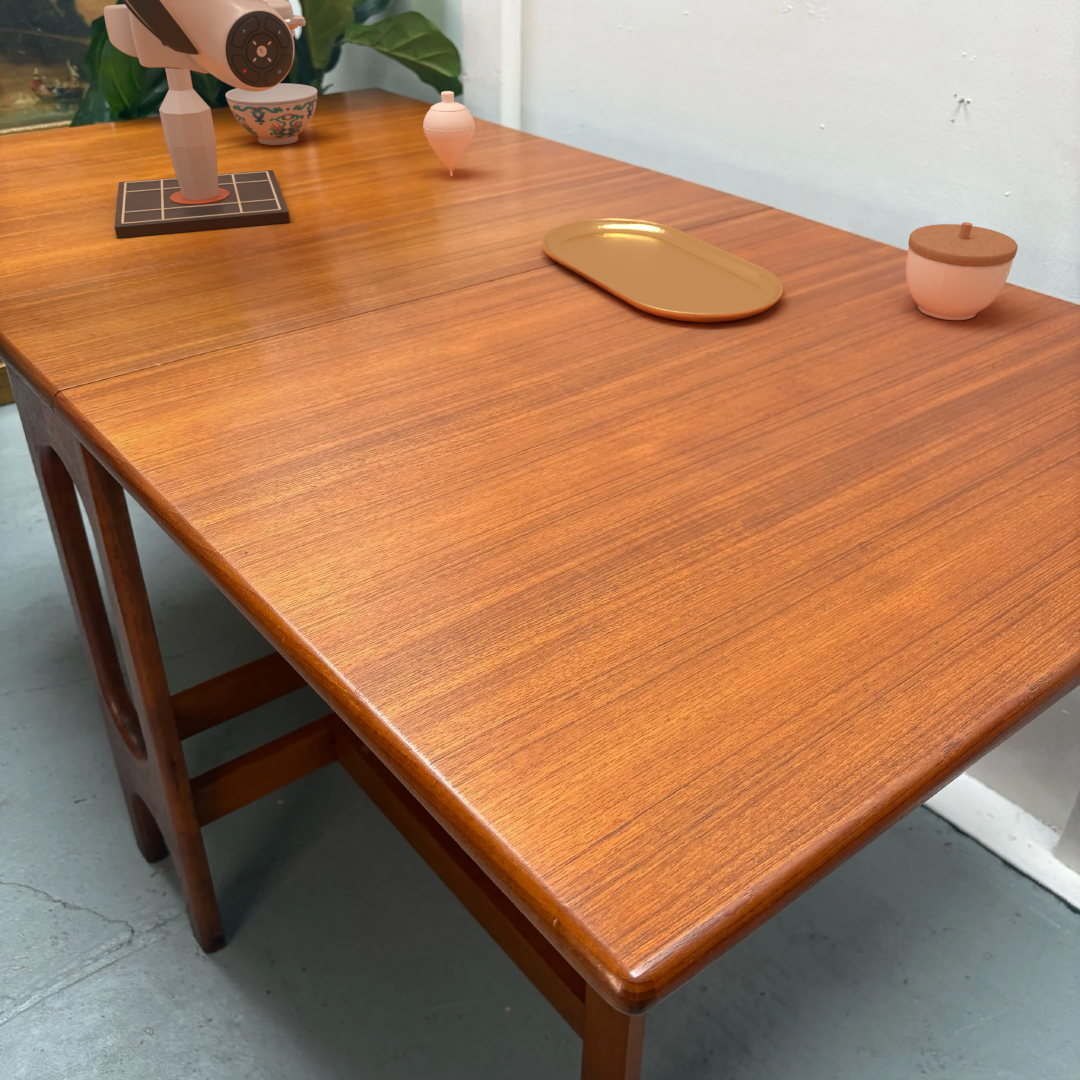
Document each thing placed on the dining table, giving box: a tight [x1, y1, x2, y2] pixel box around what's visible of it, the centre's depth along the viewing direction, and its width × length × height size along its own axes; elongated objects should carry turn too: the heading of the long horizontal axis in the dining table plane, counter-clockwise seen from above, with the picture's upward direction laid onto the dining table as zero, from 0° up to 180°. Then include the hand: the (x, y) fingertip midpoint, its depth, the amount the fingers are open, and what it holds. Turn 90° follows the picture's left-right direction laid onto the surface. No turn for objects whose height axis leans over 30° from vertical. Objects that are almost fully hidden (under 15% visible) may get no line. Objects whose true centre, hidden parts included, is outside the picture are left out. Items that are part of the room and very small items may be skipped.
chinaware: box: [225, 83, 318, 146], centre depth 172 cm, size 15×15×8 cm
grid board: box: [113, 169, 291, 239], centre depth 142 cm, size 22×22×2 cm
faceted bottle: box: [158, 68, 219, 200], centre depth 135 cm, size 6×6×22 cm
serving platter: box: [540, 217, 784, 323], centre depth 120 cm, size 19×35×2 cm, turn 30°
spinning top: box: [422, 90, 476, 177], centre depth 152 cm, size 8×8×12 cm
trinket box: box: [904, 221, 1018, 321], centre depth 108 cm, size 11×11×9 cm
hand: (186, 13), depth 119 cm, fingers open, 8 cm apart
